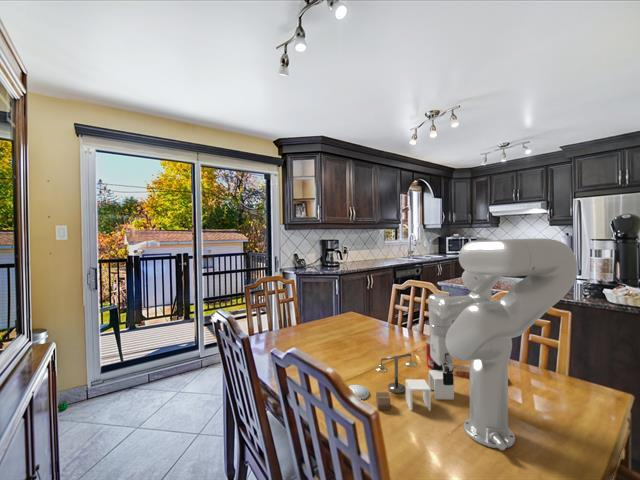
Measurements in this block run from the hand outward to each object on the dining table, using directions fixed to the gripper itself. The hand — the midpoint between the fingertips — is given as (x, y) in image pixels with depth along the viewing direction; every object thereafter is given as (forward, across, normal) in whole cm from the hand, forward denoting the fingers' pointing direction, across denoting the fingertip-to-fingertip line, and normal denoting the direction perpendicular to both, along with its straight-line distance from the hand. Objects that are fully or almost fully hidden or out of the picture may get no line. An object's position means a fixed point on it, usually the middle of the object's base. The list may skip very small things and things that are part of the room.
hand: (443, 378), depth 105 cm
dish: (+6, -2, -30) cm, 31 cm away
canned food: (+5, -24, +6) cm, 25 cm away
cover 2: (+6, -2, 0) cm, 6 cm away
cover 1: (+6, +5, -10) cm, 13 cm away
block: (+6, +6, -22) cm, 24 cm away
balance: (+6, -5, -16) cm, 17 cm away
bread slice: (+6, -16, +19) cm, 25 cm away
